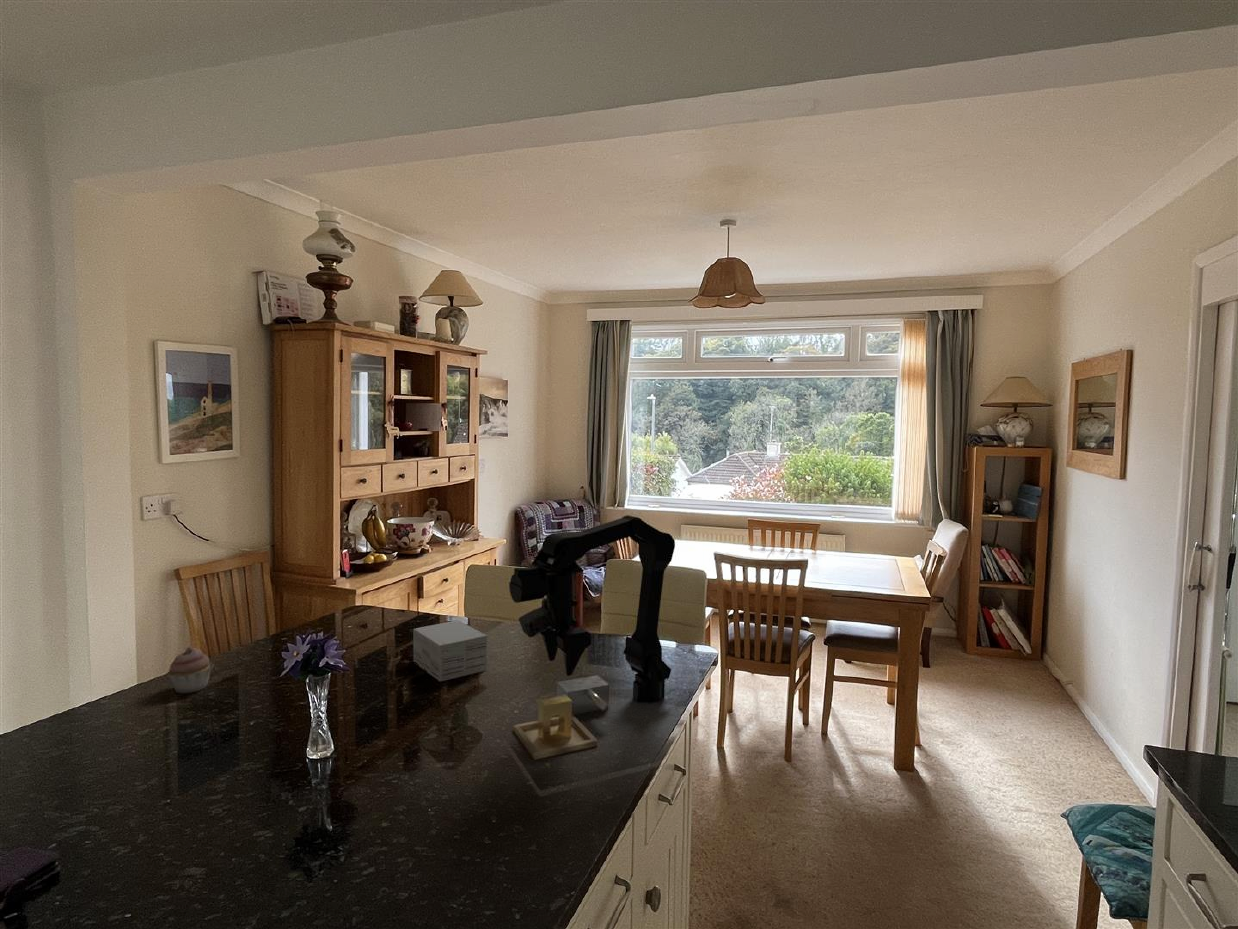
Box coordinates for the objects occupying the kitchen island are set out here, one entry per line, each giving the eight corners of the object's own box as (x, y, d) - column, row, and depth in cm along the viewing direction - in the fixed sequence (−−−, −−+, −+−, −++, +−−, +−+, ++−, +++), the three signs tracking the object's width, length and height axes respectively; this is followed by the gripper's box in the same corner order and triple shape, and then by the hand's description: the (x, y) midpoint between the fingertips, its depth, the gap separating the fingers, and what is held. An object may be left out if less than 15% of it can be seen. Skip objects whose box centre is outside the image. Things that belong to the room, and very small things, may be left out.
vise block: (598, 699, 154) (598, 674, 154) (627, 725, 141) (627, 698, 141) (553, 707, 149) (554, 681, 149) (579, 736, 136) (580, 707, 136)
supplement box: (488, 671, 170) (488, 635, 170) (439, 683, 162) (439, 645, 161) (458, 652, 183) (459, 618, 183) (412, 662, 175) (412, 627, 174)
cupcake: (157, 692, 153) (156, 650, 152) (196, 678, 162) (195, 638, 161) (185, 699, 149) (183, 656, 149) (223, 684, 158) (222, 643, 157)
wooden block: (565, 731, 136) (566, 695, 136) (571, 737, 134) (571, 700, 133) (537, 737, 134) (538, 700, 133) (543, 744, 131) (543, 706, 130)
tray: (571, 721, 142) (571, 713, 142) (597, 749, 131) (597, 740, 131) (513, 733, 136) (513, 725, 136) (534, 763, 125) (534, 754, 125)
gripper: (508, 589, 143) (508, 659, 144) (540, 612, 126) (540, 692, 128) (556, 582, 148) (556, 651, 149) (592, 604, 132) (592, 681, 133)
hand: (560, 667), depth 140 cm, fingers open, 9 cm apart
